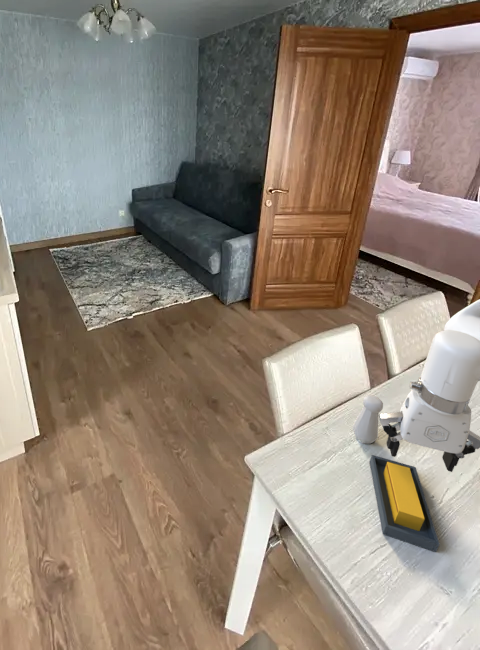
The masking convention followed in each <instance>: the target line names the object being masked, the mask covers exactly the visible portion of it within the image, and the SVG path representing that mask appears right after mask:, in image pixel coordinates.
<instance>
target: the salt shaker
mask: <svg viewBox="0 0 480 650" xmlns="http://www.w3.org/2000/svg"><path fill="white" fill-rule="evenodd" d="M362 399H363V400H362V404H363V406H362V408H361V410H360V411H359V414H358V415H357V417H356V419H355V420H354V422H353V424H352V431H353V433H354V436H355V439H356V440H357V441H359V442H360V443H361V444H363V445H371V444H373V443H374V442H376V441H377V439H378V438H379V413H381V412H382V411H383V408H384V403H383V401H382V399H381V398H380V397H378V396H376V395H374V394H367V395H365V396H364V397H363V398H362Z"/></svg>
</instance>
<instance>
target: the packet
mask: <svg viewBox="0 0 480 650" xmlns="http://www.w3.org/2000/svg"><path fill="white" fill-rule="evenodd" d="M383 474H384V479H385V483H386V488H387V492H388V497H389V502H390V506H391V511H392V515H393V520H394V523H395V524H398V525H401V526H405V527H408V528H411V529H414V530H417V531H420V528H421V526H422V524H423V522H424V519H425V518H424V515H423V512H422V508H421V505H420V501H419V498H418V495H417V491H416V488H415V484H414V481H413V478H412V474H411V471H410V468H408V467H404V466H401V465H397V464H394V463H390V462H387V464H386V467H385V470H384V473H383Z"/></svg>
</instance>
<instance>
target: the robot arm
mask: <svg viewBox="0 0 480 650" xmlns="http://www.w3.org/2000/svg"><path fill="white" fill-rule="evenodd" d="M478 382H480V298H479V299H477V300H475V301H474V302H472V303H470V304H469V305H467V306H466V307H463V308H462V309H461V310H459V311H457V312H456V313H454V315H452V316H451V317H450V318H449V319H448V320H447V321H446V323H445V324H444V327H443V330H440V331H438V332H436V333H435V334H434V336H433V338H432V340H431V344H430V347H429V349H428V353H427V355H426V358H425V361H424V365H423V368H422V371H421V373H420V376H419V377H418V379H417V381H409V386H408V387H409V389H410V392H408V394H407V395H406V397H405V399H404V401H403V403H402V404H401V407H400V409H399V411H397V412H387V413H386V412H385V413H380V414H379V416H378V420H379V422H380V425H381V427H382V430H383V432H385V433H386V435H387V440H386V447H387V449H388V450H389V451H390V456H391V457H393V458H396V457H397V454H398V451H399V448H400V445H401V443H400V441H402V440H404V441H405V442H407V443H409V444H413V445H417V446H421V447H425V448H428V449H432V450H436V451H441V452H443V454H442V456H441V457H442V461H443V463H444V466H445V468H446V470H447V471H448V472H449V473H453V471H454V469H455V467H457V466H458V463H459V461H460V459H464V458H465V456H466V455H469V454H473V453H476V450H479V449H480V435H478V434H477V433H475V432H473V431H472V430H470V429H471V422H472V408H471V407H470V406H469V403H470V401H471V399H472V396H473V394H474V391H475V390H476V389H475V388H476V386H477V383H478ZM390 423H393V424H390ZM394 423H395V424H394Z"/></svg>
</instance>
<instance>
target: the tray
mask: <svg viewBox="0 0 480 650" xmlns="http://www.w3.org/2000/svg"><path fill="white" fill-rule="evenodd" d="M387 462H390V463H394V464H397V465H401V466H404V467H408V468H410V471H411V474H412V478H413V481H414V484H415V488H416V491H417V495H418V498H419V501H420V505H421V508H422V512H423V515H424V518H425V519H424V522H423V524H422V526H421V528H420V531H417V530H414V529H411V528H408V527H405V526H401V525H398V524H395V523H394V520H393V515H392V511H391V506H390V502H389V497H388V492H387V488H386V483H385V479H384V474H383V473H384V470H385V467H386V464H387ZM369 467H370V473H371V478H372V479H371V480H372V483H373V489H374V495H375V500H376V507H377V511H378V516H379V521H380V522H379V523H380V527H381V533H382V535H384V536H386V537H390V538H393V539H396V540H397V541H398V540H399V541H401V542H405V543H408V544H410V545H413V546H416V547H419V548H422V549H425V550H428V551H431V552H433V553H437V551H438V549H439V547H440V545H441V544H440V541H439V538H438V534H437V532H436V529H435V528H436V527H435V525H434V522H433V518H432V516H431V513H430V510H429V506H428V503H427V500H426V496H425V493H424V489H423V487H422V483H421V480H420V477H419V473H418V470H417V467H416V466H414V465H409V464H406V463H403V462H400V461H395V460H391V459H388V458H384V457H382V456H381V457H380V456H378V455H374V454H371V456H370V459H369Z"/></svg>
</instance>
